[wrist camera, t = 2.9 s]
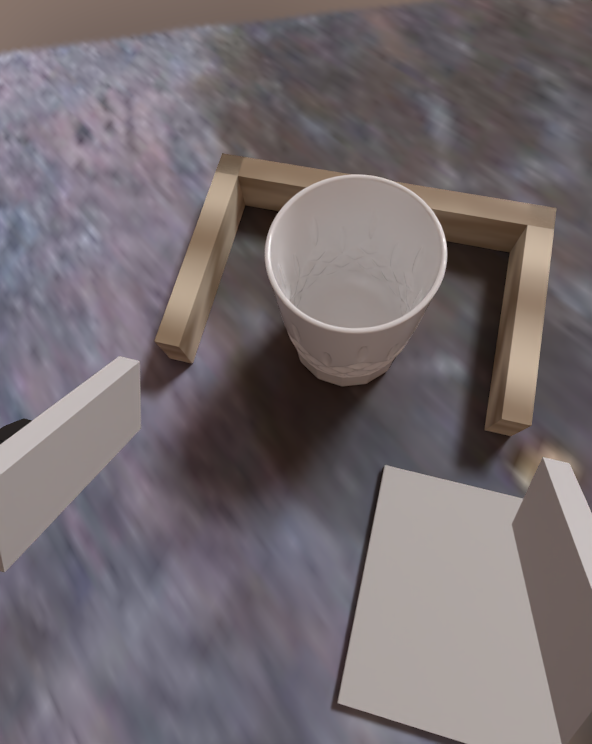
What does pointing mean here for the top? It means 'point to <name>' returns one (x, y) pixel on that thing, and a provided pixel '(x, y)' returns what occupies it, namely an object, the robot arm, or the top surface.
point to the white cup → (354, 273)
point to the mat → (447, 618)
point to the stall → (460, 225)
